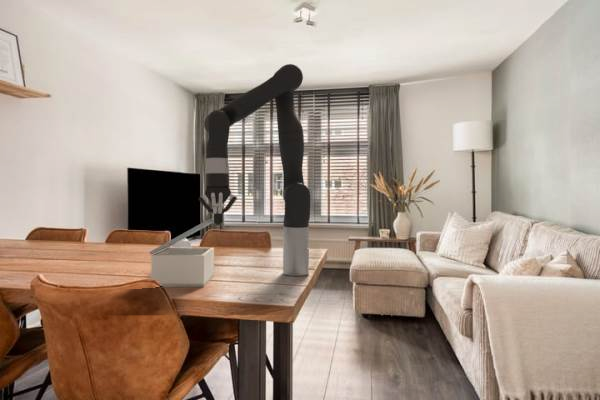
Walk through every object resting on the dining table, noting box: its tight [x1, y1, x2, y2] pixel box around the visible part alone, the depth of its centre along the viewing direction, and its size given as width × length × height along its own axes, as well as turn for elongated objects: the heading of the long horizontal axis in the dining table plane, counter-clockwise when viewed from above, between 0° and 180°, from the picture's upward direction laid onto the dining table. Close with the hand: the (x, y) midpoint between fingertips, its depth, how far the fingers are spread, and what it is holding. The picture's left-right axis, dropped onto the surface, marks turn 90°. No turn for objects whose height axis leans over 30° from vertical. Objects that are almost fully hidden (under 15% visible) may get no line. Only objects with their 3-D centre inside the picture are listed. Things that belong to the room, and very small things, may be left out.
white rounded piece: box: [171, 237, 192, 248], centre depth 134 cm, size 10×4×12 cm, turn 39°
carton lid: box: [149, 217, 214, 255], centre depth 117 cm, size 20×17×1 cm
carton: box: [150, 247, 215, 288], centre depth 118 cm, size 16×16×10 cm
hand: (218, 224), depth 118 cm, fingers closed
